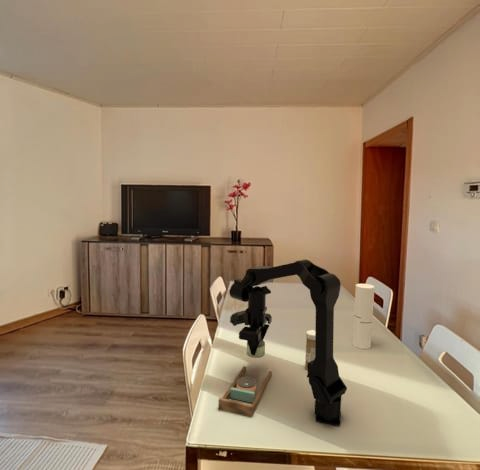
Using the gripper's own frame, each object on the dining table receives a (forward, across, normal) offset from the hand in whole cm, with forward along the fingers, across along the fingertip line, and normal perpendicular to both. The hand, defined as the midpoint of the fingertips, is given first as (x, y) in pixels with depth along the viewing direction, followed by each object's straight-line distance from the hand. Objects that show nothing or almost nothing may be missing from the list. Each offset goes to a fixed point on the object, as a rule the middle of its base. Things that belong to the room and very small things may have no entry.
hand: (255, 350), depth 117 cm
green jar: (+1, 0, 0) cm, 1 cm away
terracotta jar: (+10, +10, 0) cm, 14 cm away
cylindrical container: (+10, -40, +34) cm, 53 cm away
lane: (+9, +9, 0) cm, 13 cm away
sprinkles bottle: (+10, -13, +17) cm, 23 cm away
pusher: (+9, +13, 0) cm, 16 cm away
